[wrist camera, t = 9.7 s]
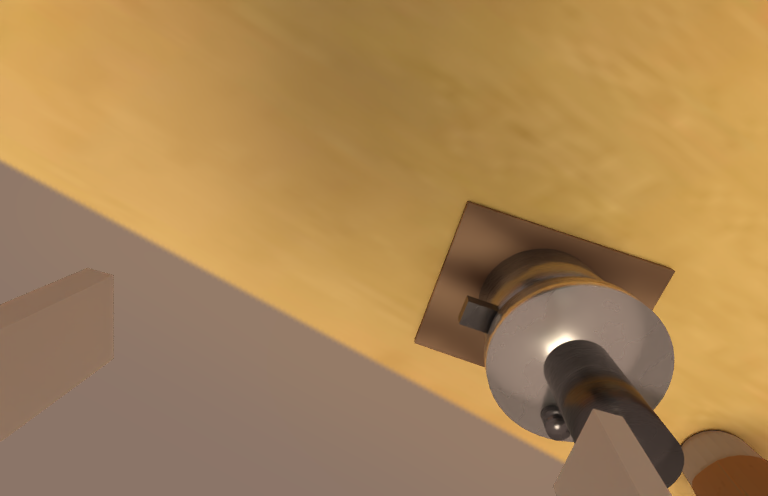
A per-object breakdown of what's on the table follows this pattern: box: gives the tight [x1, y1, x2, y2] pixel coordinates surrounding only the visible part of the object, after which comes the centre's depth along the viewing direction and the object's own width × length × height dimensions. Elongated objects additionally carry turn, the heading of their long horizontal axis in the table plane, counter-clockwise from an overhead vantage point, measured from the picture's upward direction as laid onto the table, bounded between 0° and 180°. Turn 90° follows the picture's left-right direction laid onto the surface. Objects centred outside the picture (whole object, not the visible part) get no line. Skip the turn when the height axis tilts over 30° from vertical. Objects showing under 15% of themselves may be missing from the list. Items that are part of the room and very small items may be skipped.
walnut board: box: [415, 201, 675, 367], centre depth 37 cm, size 15×19×1 cm
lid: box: [484, 278, 684, 488], centre depth 24 cm, size 12×12×10 cm
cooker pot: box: [458, 249, 604, 341], centre depth 33 cm, size 16×12×9 cm
